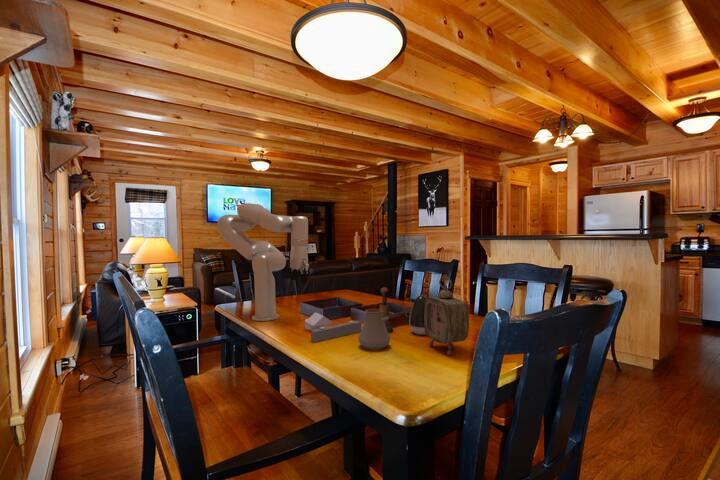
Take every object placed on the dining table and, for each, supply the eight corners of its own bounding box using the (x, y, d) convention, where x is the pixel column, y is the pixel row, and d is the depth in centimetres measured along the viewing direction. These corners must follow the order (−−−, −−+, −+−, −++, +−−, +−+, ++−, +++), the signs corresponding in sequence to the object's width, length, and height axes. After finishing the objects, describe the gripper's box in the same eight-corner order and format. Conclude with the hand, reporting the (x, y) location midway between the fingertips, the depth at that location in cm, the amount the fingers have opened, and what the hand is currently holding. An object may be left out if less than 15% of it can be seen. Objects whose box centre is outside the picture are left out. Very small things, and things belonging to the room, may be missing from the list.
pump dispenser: (404, 331, 143) (404, 294, 143) (427, 328, 146) (426, 292, 146) (415, 337, 134) (415, 298, 133) (439, 335, 137) (439, 296, 137)
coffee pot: (351, 346, 124) (350, 304, 124) (373, 339, 132) (373, 300, 132) (398, 361, 109) (397, 313, 109) (419, 352, 117) (419, 308, 117)
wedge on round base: (333, 330, 145) (321, 324, 156) (333, 314, 145) (320, 309, 156) (313, 334, 141) (302, 326, 152) (313, 317, 140) (301, 311, 152)
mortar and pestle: (374, 332, 142) (374, 288, 142) (379, 328, 148) (379, 285, 148) (390, 333, 139) (389, 288, 139) (394, 329, 145) (394, 286, 145)
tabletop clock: (424, 345, 125) (423, 275, 124) (445, 342, 128) (444, 274, 128) (448, 358, 111) (448, 280, 111) (471, 354, 115) (471, 278, 114)
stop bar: (311, 340, 131) (310, 328, 131) (356, 330, 145) (356, 319, 145) (315, 342, 129) (315, 330, 129) (361, 331, 143) (361, 320, 143)
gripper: (284, 243, 163) (284, 279, 163) (299, 244, 148) (299, 284, 149) (299, 242, 167) (299, 278, 167) (315, 244, 152) (315, 283, 153)
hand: (299, 281), depth 158 cm, fingers open, 9 cm apart
